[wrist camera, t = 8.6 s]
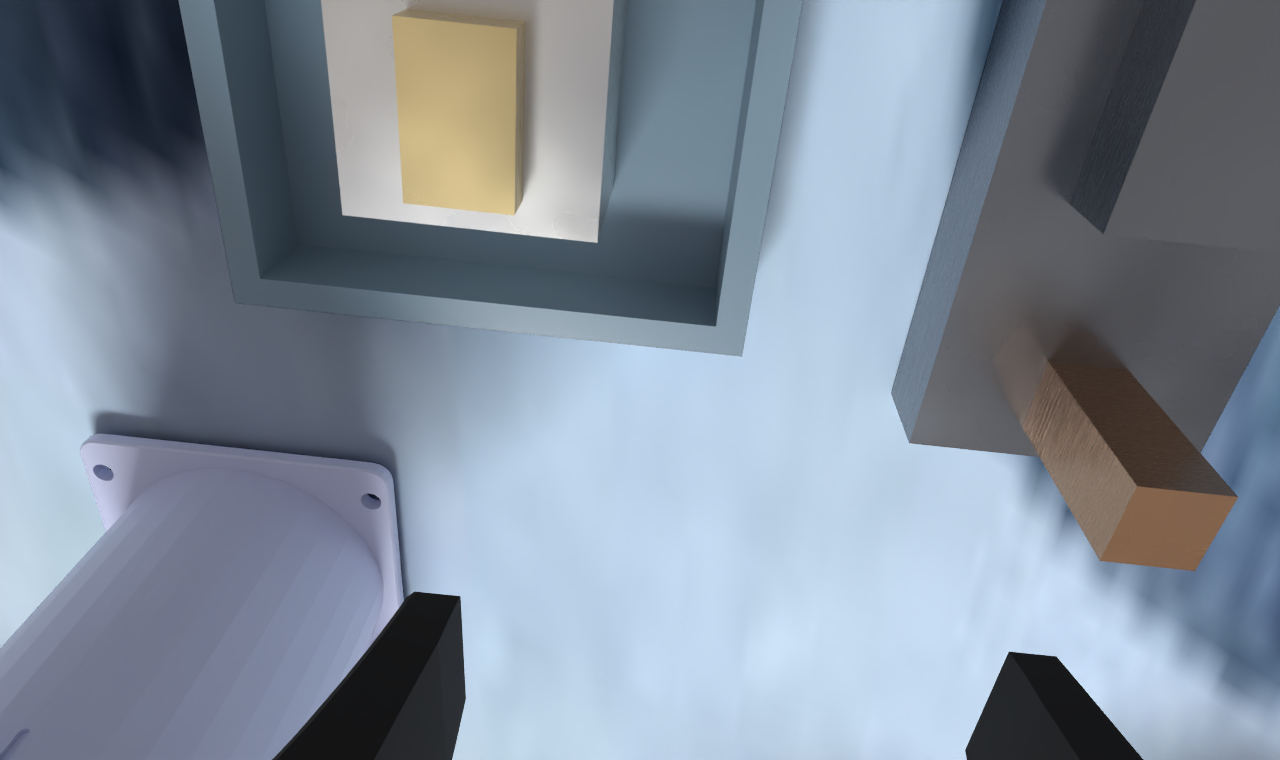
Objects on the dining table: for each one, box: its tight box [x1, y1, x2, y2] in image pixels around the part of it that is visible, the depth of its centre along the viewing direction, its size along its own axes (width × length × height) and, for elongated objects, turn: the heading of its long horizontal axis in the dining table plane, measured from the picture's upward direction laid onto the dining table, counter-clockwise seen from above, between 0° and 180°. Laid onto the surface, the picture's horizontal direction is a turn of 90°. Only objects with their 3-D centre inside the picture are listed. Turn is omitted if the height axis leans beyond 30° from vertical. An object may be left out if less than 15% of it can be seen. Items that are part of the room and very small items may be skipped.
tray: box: [179, 0, 803, 356], centre depth 15 cm, size 11×10×2 cm
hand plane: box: [891, 0, 1280, 571], centre depth 13 cm, size 15×6×6 cm, turn 175°
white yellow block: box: [321, 0, 627, 243], centre depth 14 cm, size 6×4×4 cm
